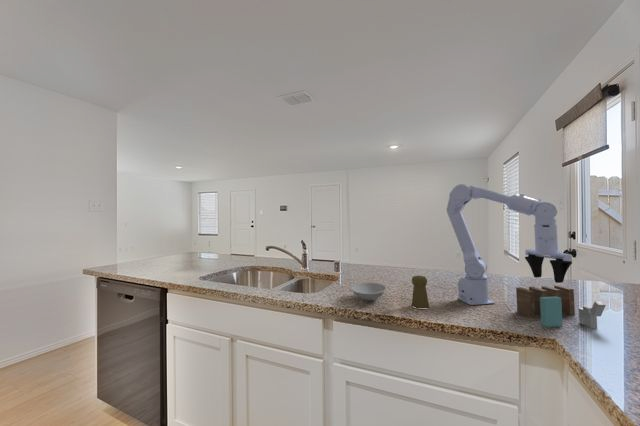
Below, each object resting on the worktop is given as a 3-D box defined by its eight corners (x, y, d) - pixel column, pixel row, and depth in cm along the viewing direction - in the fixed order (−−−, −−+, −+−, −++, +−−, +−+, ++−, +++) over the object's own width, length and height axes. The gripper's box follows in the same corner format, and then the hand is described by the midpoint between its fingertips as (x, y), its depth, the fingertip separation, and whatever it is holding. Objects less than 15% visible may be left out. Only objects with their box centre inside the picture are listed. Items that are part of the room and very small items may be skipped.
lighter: (578, 322, 79) (577, 295, 80) (585, 322, 79) (583, 295, 79) (600, 332, 72) (598, 302, 73) (607, 332, 72) (605, 302, 72)
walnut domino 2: (543, 316, 85) (542, 290, 85) (530, 311, 90) (528, 286, 90) (548, 316, 85) (547, 290, 85) (534, 310, 90) (533, 286, 90)
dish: (385, 308, 97) (385, 294, 97) (346, 305, 101) (346, 292, 101) (389, 294, 114) (388, 282, 114) (355, 293, 118) (354, 281, 118)
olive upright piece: (429, 304, 99) (428, 274, 99) (428, 310, 94) (427, 278, 94) (412, 303, 102) (411, 273, 102) (410, 308, 96) (409, 277, 96)
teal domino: (562, 325, 77) (561, 297, 78) (546, 327, 77) (544, 298, 77) (557, 323, 79) (555, 296, 79) (541, 324, 79) (539, 297, 79)
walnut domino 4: (570, 314, 85) (568, 289, 86) (555, 309, 90) (554, 285, 91) (574, 314, 86) (573, 289, 86) (559, 309, 91) (558, 285, 91)
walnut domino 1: (530, 317, 84) (528, 291, 85) (517, 311, 89) (516, 287, 90) (534, 317, 85) (533, 291, 85) (521, 311, 90) (520, 287, 90)
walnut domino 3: (556, 315, 85) (555, 290, 85) (542, 310, 90) (541, 286, 90) (561, 315, 85) (560, 289, 85) (547, 310, 90) (546, 285, 90)
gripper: (579, 239, 83) (582, 284, 83) (537, 236, 97) (539, 274, 97) (558, 240, 82) (561, 285, 82) (519, 237, 97) (521, 275, 96)
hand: (547, 279), depth 89 cm, fingers open, 7 cm apart
